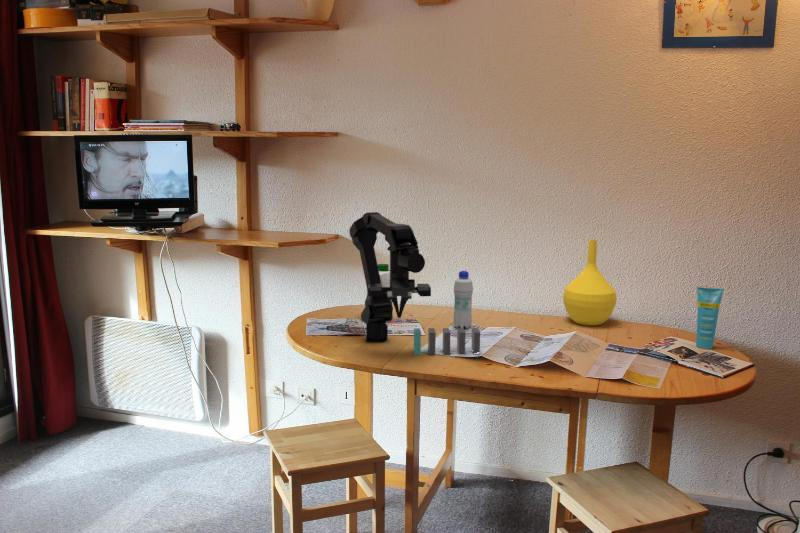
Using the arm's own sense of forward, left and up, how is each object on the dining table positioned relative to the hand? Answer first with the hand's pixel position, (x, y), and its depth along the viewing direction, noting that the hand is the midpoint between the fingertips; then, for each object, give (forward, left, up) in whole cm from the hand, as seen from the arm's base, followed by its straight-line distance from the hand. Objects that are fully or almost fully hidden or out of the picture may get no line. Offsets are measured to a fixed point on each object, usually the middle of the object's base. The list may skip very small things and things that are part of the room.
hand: (399, 317), depth 205 cm
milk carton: (-6, +38, -11) cm, 40 cm away
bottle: (+23, +28, -11) cm, 38 cm away
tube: (+97, +4, -11) cm, 98 cm away
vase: (+69, +34, -11) cm, 78 cm away
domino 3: (+14, 0, -11) cm, 18 cm away
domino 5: (+23, 0, -11) cm, 26 cm away
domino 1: (+6, 0, -11) cm, 12 cm away
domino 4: (+19, 0, -11) cm, 22 cm away
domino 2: (+10, 0, -11) cm, 15 cm away
